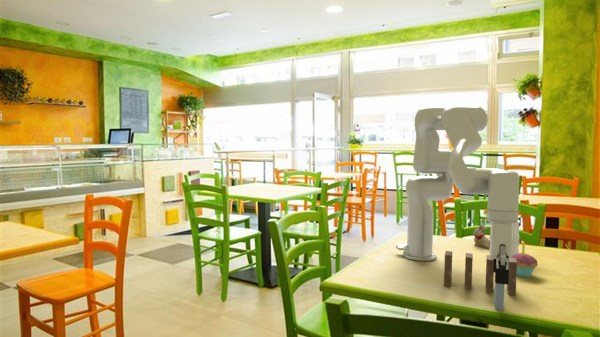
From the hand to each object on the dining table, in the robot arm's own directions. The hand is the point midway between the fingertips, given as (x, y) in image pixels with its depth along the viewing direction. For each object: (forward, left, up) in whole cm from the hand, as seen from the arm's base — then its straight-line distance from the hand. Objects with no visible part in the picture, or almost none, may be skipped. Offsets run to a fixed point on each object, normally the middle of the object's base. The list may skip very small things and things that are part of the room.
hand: (500, 277), depth 112 cm
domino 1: (-14, +13, -8) cm, 21 cm away
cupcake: (+9, +33, -8) cm, 35 cm away
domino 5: (+4, +13, -8) cm, 16 cm away
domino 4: (0, 0, -8) cm, 8 cm away
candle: (+6, +52, -8) cm, 53 cm away
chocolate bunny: (-3, +68, -8) cm, 69 cm away
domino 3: (-2, +13, -8) cm, 16 cm away
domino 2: (-8, +13, -8) cm, 17 cm away
